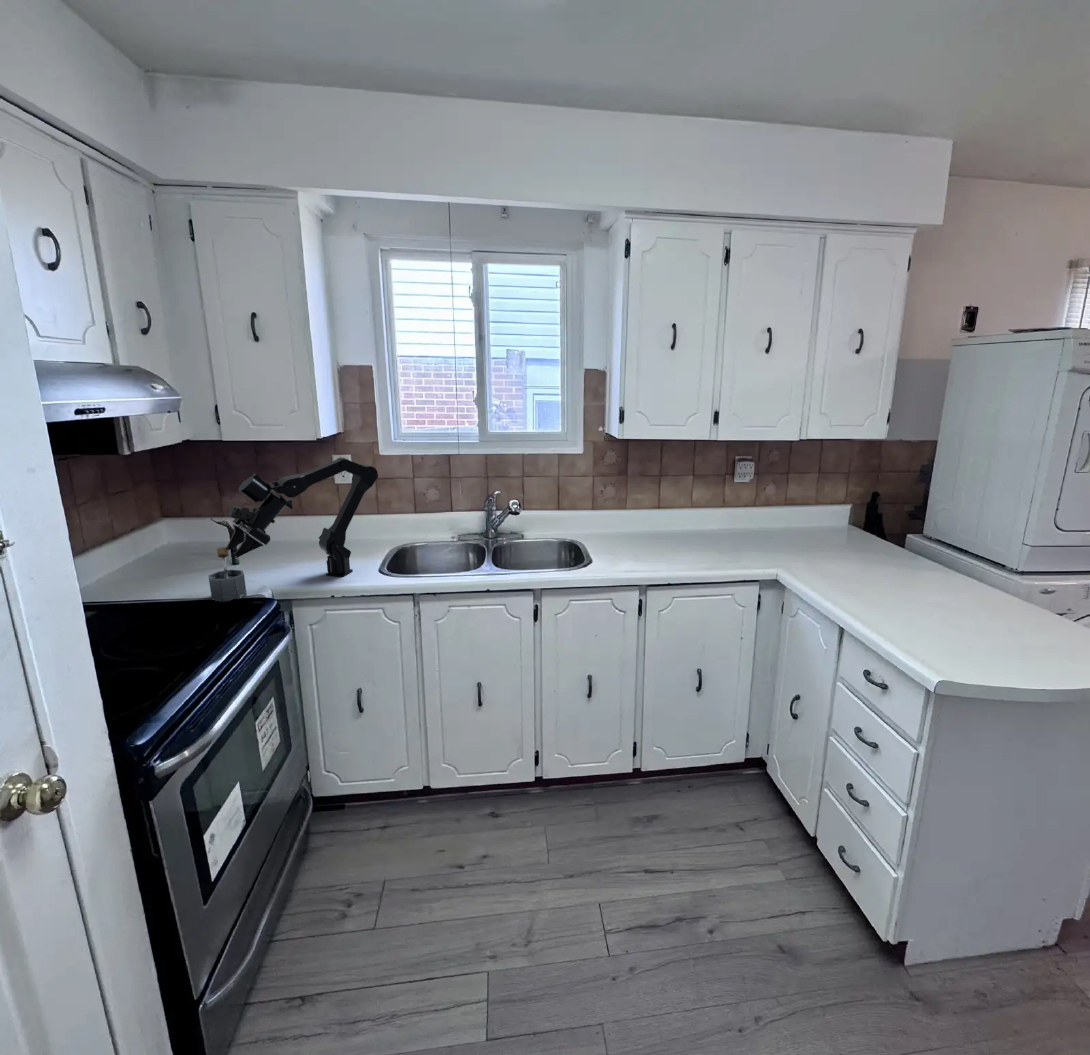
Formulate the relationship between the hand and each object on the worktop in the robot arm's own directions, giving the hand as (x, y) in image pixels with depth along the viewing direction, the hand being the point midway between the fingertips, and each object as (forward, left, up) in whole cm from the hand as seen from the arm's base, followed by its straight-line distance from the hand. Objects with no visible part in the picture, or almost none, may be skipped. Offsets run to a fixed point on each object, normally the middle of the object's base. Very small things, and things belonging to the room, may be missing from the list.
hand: (231, 552), depth 165 cm
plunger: (+1, +2, -8) cm, 9 cm away
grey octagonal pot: (+1, +2, -13) cm, 14 cm away
